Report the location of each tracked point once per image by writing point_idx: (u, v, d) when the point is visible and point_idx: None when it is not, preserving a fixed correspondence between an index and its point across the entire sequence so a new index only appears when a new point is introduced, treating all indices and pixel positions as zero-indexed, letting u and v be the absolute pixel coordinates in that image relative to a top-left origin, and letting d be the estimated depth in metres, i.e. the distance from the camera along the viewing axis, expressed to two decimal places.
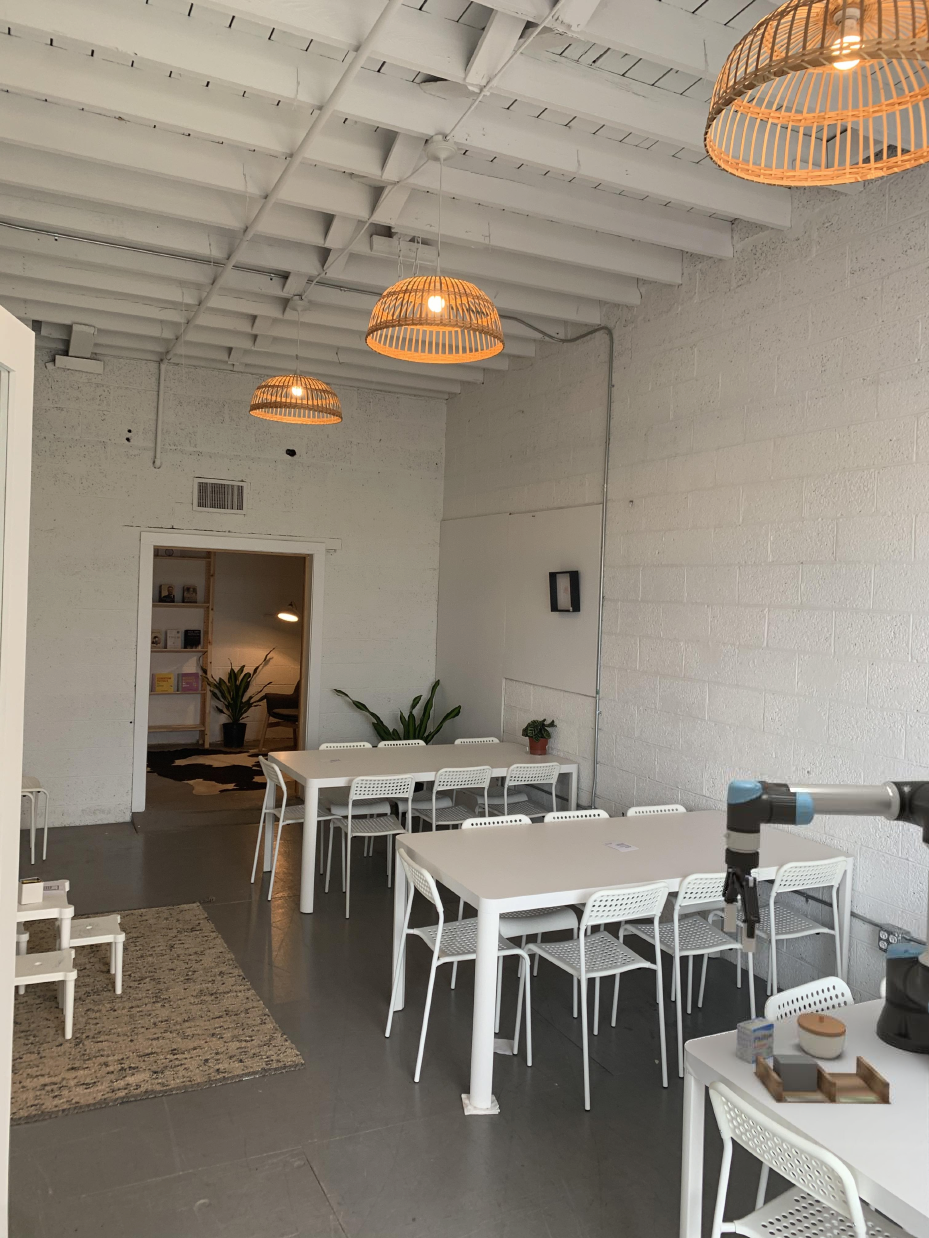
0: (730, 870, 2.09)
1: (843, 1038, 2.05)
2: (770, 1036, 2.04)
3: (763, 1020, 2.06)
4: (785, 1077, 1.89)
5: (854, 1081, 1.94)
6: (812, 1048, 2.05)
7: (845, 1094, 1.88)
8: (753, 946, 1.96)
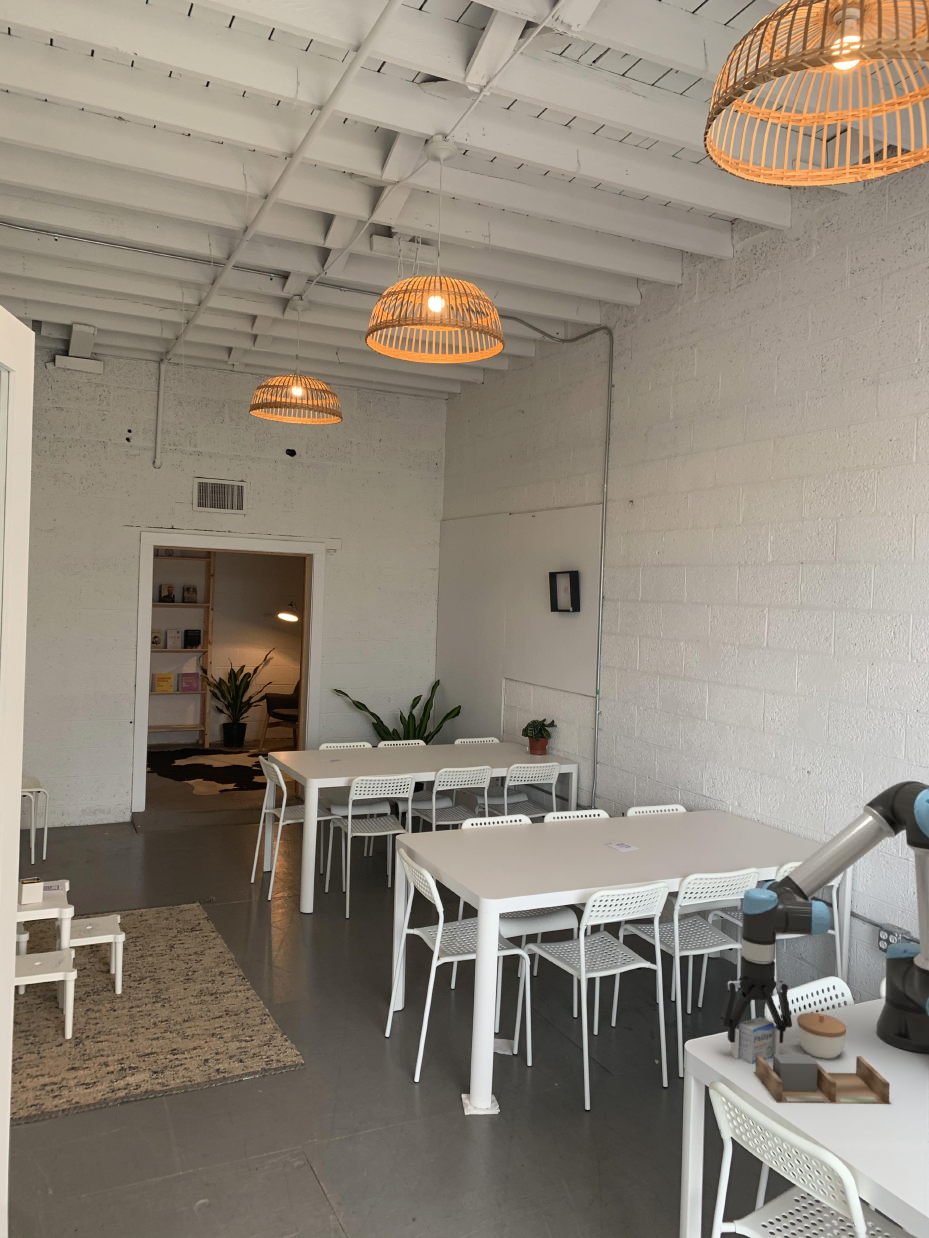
0: None
1: (843, 1038, 2.05)
2: (770, 1036, 2.04)
3: (763, 1020, 2.06)
4: (785, 1077, 1.89)
5: (854, 1081, 1.94)
6: (812, 1048, 2.05)
7: (845, 1094, 1.88)
8: (734, 1051, 2.03)
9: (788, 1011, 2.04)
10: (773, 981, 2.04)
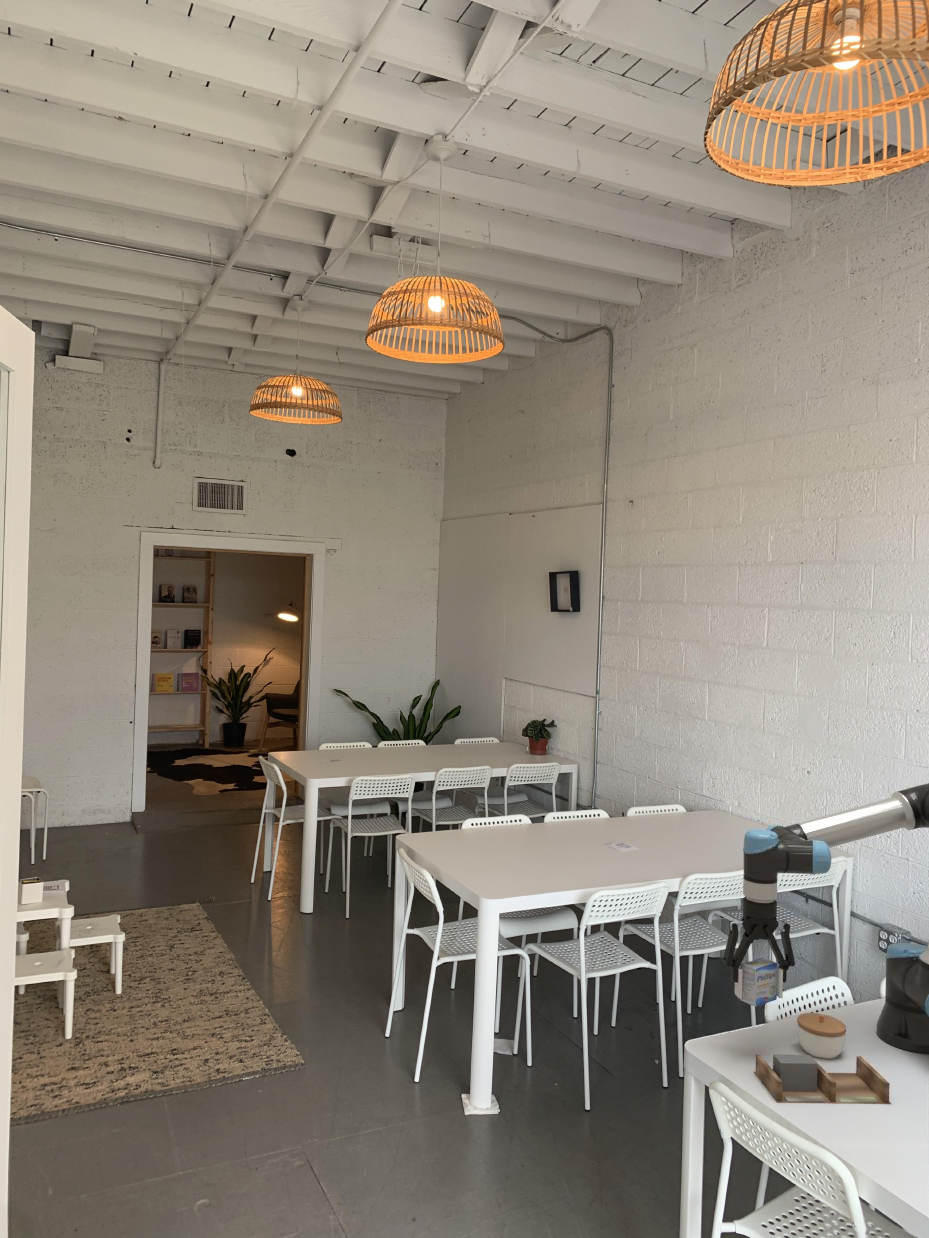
0: None
1: (843, 1038, 2.05)
2: (774, 976, 2.05)
3: (766, 960, 2.06)
4: (785, 1077, 1.89)
5: (854, 1081, 1.94)
6: (812, 1048, 2.05)
7: (845, 1094, 1.88)
8: (738, 991, 2.04)
9: (791, 950, 2.04)
10: (775, 921, 2.04)
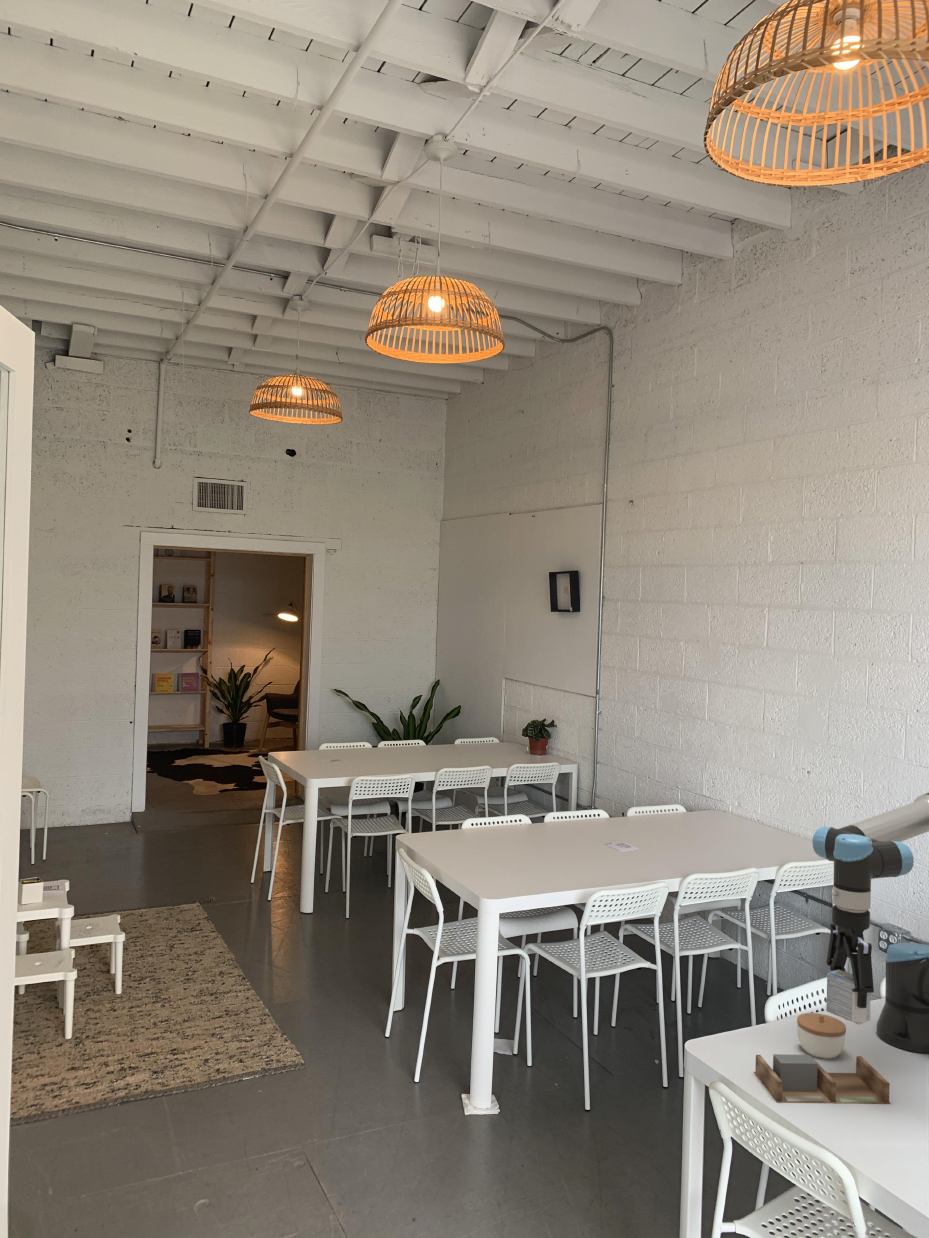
0: (835, 931, 1.97)
1: (843, 1038, 2.05)
2: None
3: (837, 972, 1.94)
4: (785, 1077, 1.89)
5: (854, 1081, 1.94)
6: (812, 1048, 2.05)
7: (845, 1094, 1.88)
8: (864, 1016, 1.87)
9: None
10: None
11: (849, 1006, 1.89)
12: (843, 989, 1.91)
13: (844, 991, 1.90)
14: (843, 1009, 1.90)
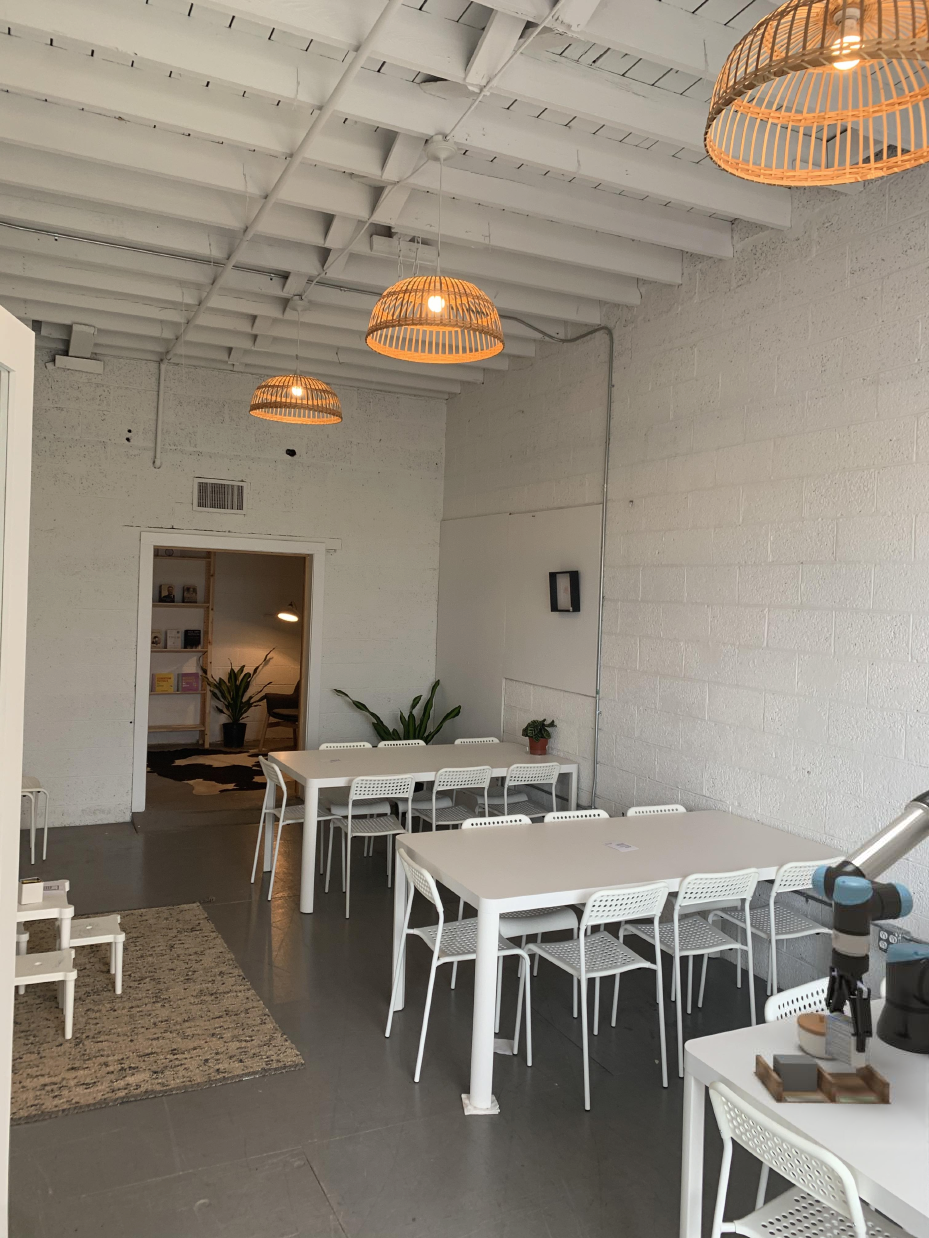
0: (834, 973, 1.97)
1: None
2: None
3: (836, 1014, 1.94)
4: (785, 1077, 1.89)
5: (854, 1081, 1.94)
6: (812, 1048, 2.05)
7: (845, 1094, 1.88)
8: (863, 1060, 1.86)
9: None
10: None
11: (847, 1050, 1.89)
12: (842, 1032, 1.90)
13: (842, 1035, 1.90)
14: (842, 1052, 1.90)
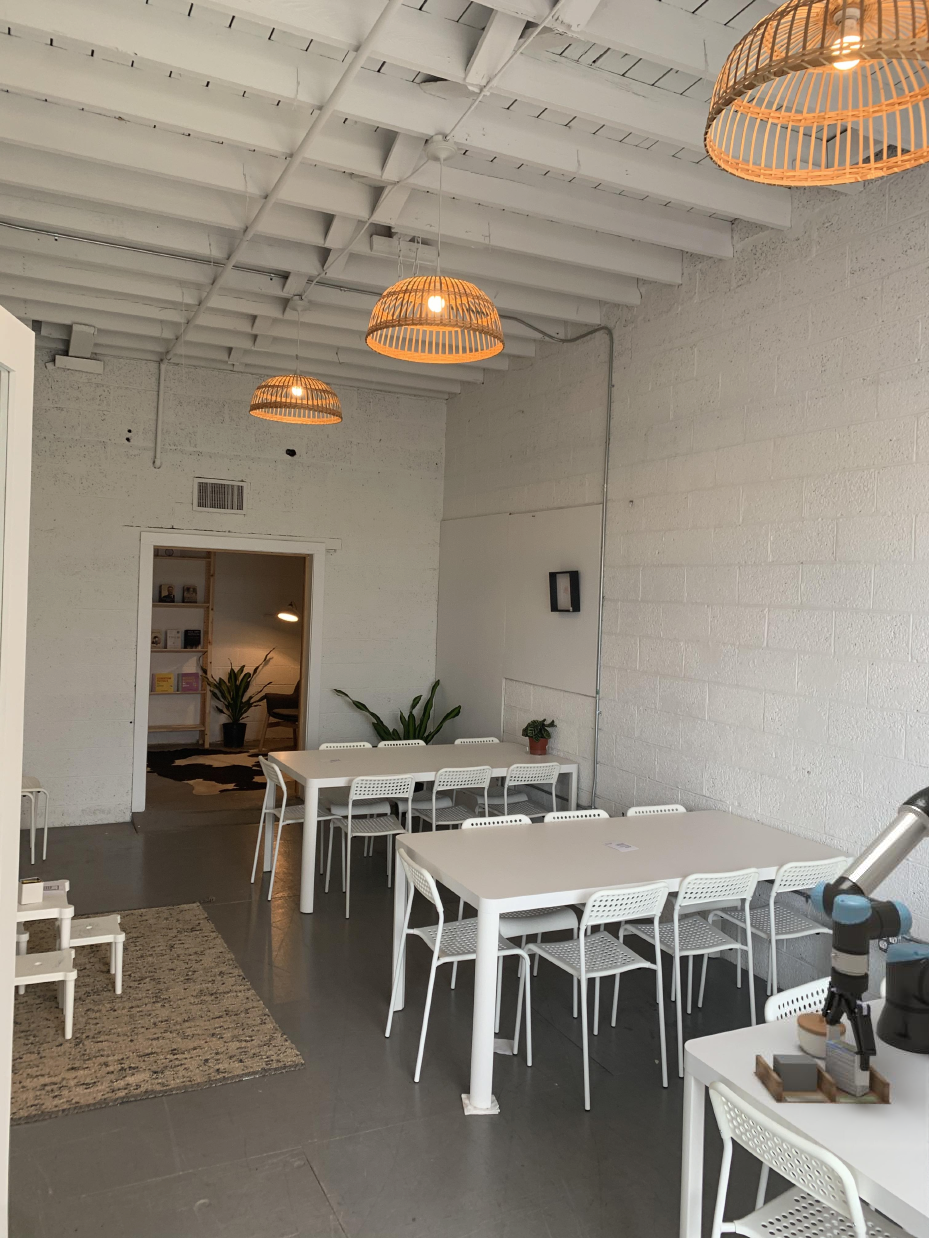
0: (833, 989, 1.97)
1: (843, 1038, 2.05)
2: None
3: (836, 1042, 1.94)
4: (785, 1077, 1.89)
5: None
6: (812, 1048, 2.05)
7: (845, 1094, 1.88)
8: (867, 1078, 1.85)
9: None
10: None
11: (847, 1078, 1.89)
12: (841, 1060, 1.90)
13: (842, 1063, 1.90)
14: (842, 1080, 1.90)
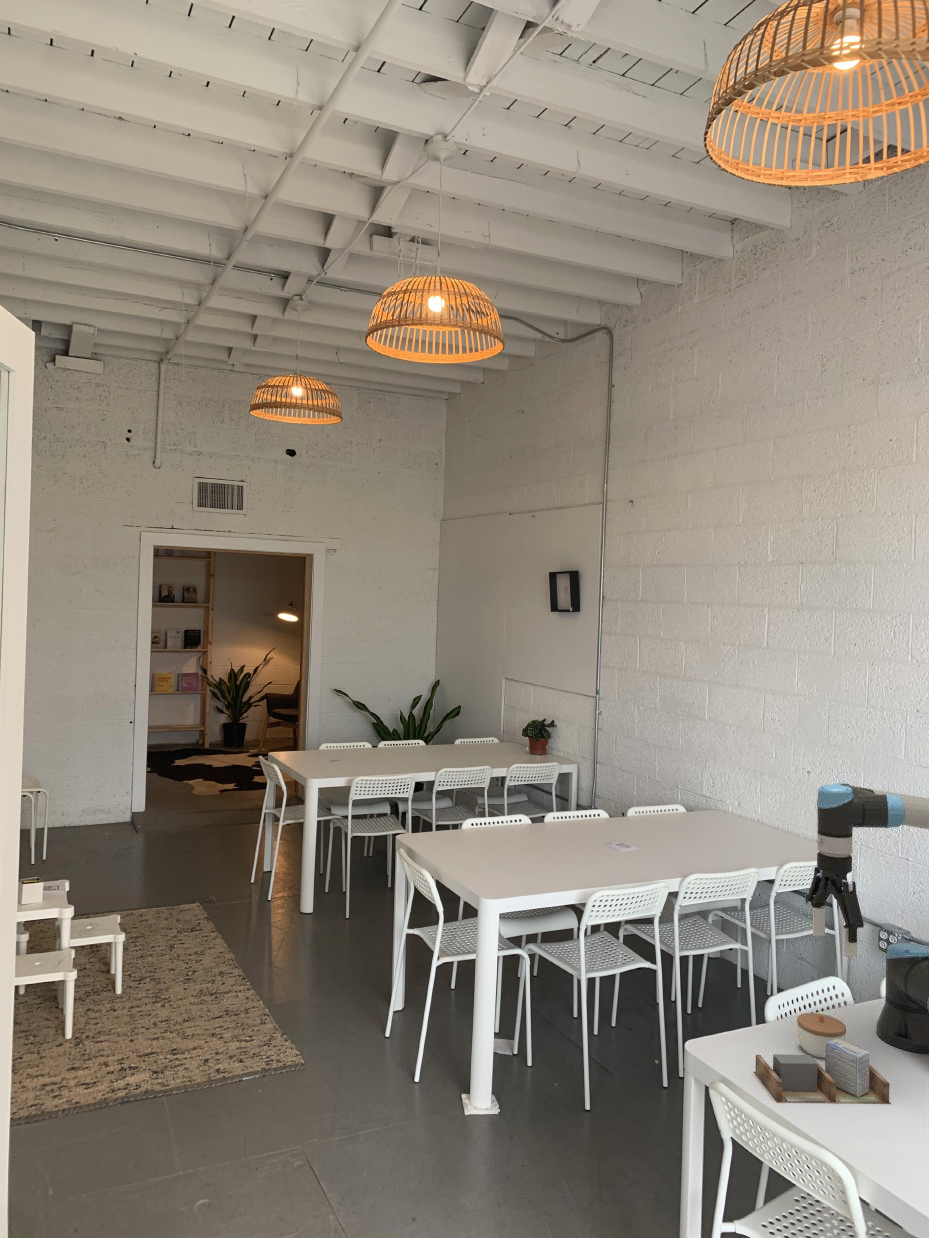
0: (818, 874, 2.09)
1: (843, 1038, 2.05)
2: None
3: (836, 1042, 1.94)
4: (785, 1077, 1.89)
5: None
6: (812, 1048, 2.05)
7: (845, 1094, 1.88)
8: (855, 950, 1.97)
9: None
10: None
11: (847, 1078, 1.89)
12: (841, 1060, 1.90)
13: (842, 1063, 1.90)
14: (842, 1080, 1.90)
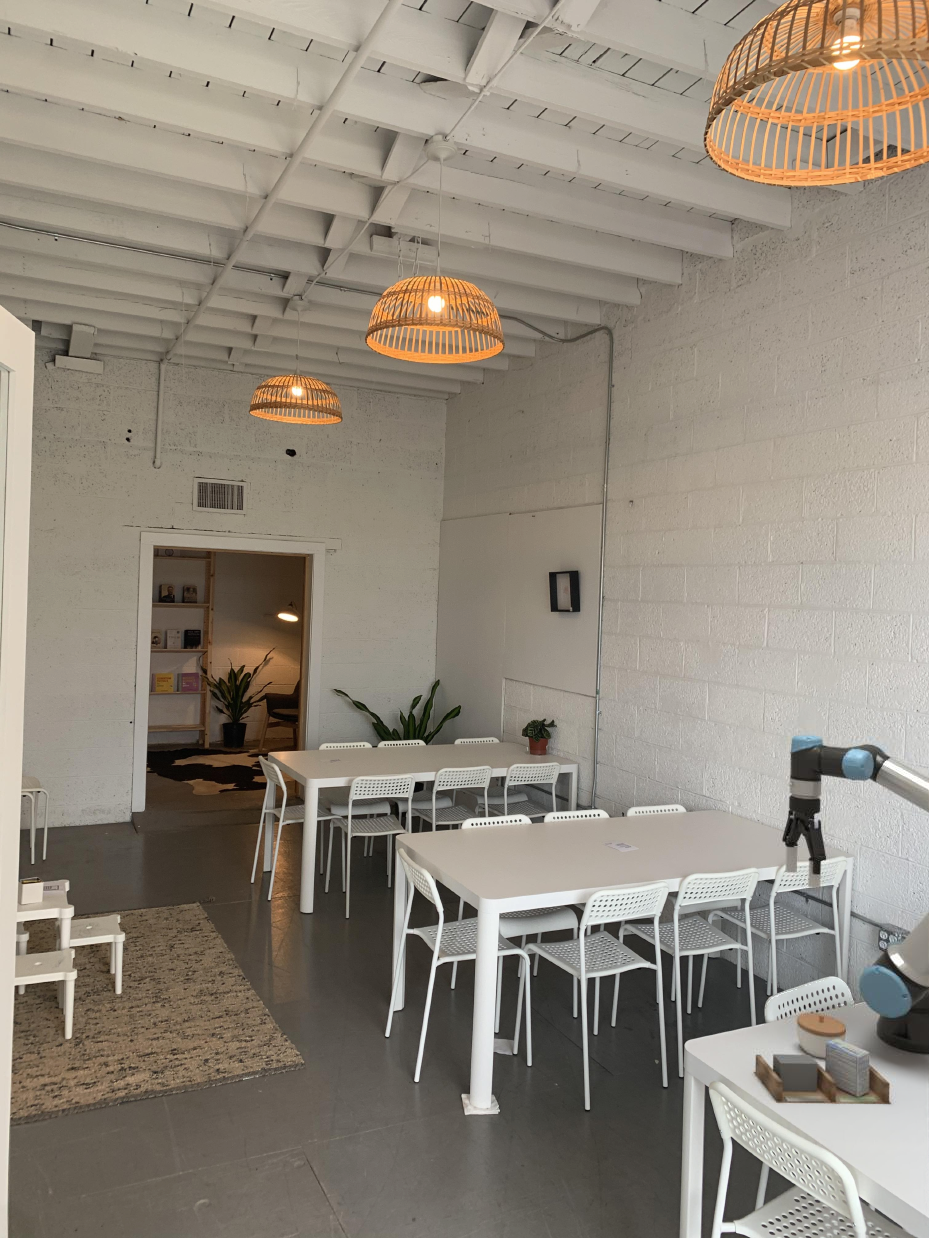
0: (791, 816, 2.32)
1: (843, 1038, 2.05)
2: None
3: (836, 1042, 1.94)
4: (785, 1077, 1.89)
5: None
6: (812, 1048, 2.05)
7: (845, 1094, 1.88)
8: (818, 881, 2.19)
9: None
10: None
11: (847, 1078, 1.89)
12: (841, 1060, 1.90)
13: (842, 1063, 1.90)
14: (842, 1080, 1.90)
